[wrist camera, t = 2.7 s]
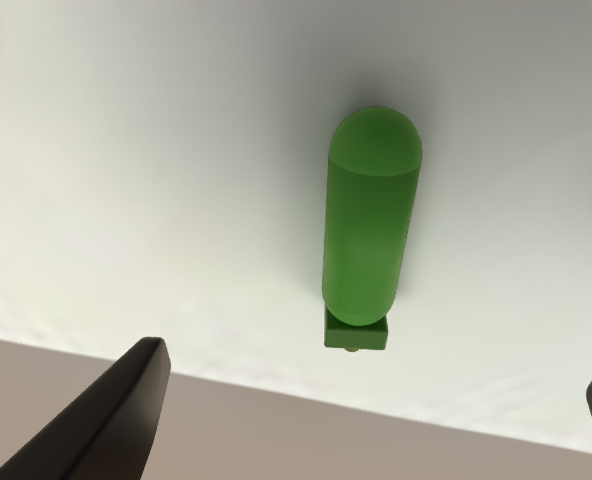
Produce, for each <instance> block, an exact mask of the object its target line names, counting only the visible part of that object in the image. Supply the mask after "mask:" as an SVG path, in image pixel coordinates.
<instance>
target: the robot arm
mask: <svg viewBox="0 0 592 480" xmlns="http://www.w3.org/2000/svg"><path fill="white" fill-rule="evenodd" d="M170 369H171V362H170V358H169V354H168V351H167V347H166V344H165V341H164V339H162V338H160V337H144V338H142V339H140V340H139V341H138V342H137V343H136V344H135V345H134V346H133V347H132V348H131V349H129V350H128V351H127V352H126V353H125V354H124V355H123V356H122V357H121V358H120V359H119V360H117V361H116V362H115V363H114V364H113V365H112V366H111V367H110V368H109V369H108V370H107V371H105V372H104V373H103V374H102V375H101V376H100V377H99V378H98V379H97V380H96V381H94V382H93V383H92V384H91V385H90V386H89V387H88V388H87V389H86V390H85V391H84V392H82V393H81V394H80V395H79V396H78V397H77V398H76V399H75V400H74V401H73V402H71V403H70V404H69V406H67V407H66V408H65V409H64V410H63V411H62V412H61V413H59V414H58V415H57V416H56V417H55V418H54V419H53V420H52V421H51V422H50V423H49V424H47V425H46V426H45V427H44V428H43V429H42V430H41V431H40V432H39V433H38V434H36V436H34V437H33V438H32V439H31V440H30V441H29V442H28V443H27V444H26V445H24V446H23V447H22V448H21V449H20V450H19V451H18V452H17V453H16V454H15V455H14V456H12V457H11V458H10V459H9V460H8V461H7V462H6V463H5V464H4V465H3V466H1V467H0V480H140V479H141V476H142V473H143V470H144V468H145V465H146V462H147V459H148V456H149V454H150V450H151V447H152V444H153V441H154V437H155V433H156V430H157V425H158V421H159V417H160V413H161V409H162V404H163V400H164V396H165V391H166V387H167V383H168V379H169V375H170ZM586 398H587V402H588V406H589V409H590V412H591V416H592V382H591V383H590V384H589V386H588V388H587V391H586Z"/></svg>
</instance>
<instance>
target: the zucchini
mask: <svg viewBox="0 0 592 480" xmlns="http://www.w3.org/2000/svg"><path fill="white" fill-rule="evenodd" d="M421 161H422V145H421V139H420V136H419V134H418V131H417V130H416V128H415V127H414V125H413V124H412V122H411V121H410V120H409V119H407V118H406V117H405V116H404V115H403V114H401V113H399V112H397V111H395V110H393V109H390V108H385V107H369V108H365V109H362V110H359V111H357V112H355V113H353V114H352V115H350V116H349V117H347V118H346V119H345V120H344V121H343V122H342V123H341V124H340V125H339V127H338V128H337V130H336V131H335V133H334V135H333V138H332V140H331V143H330V149H329V159H328V178H327V198H326V218H325V237H324V257H323V276H322V294H323V299H324V301H325V332H324V345H325V347H331V348H345V350H347V351H349V352H355V351H357V350H358V349H371V350H384V349H385V347H386V341H387V336H388V326H387V319H386V314H387V312H388V311H389V310H390V308H391V306H392V304H393V301H394V298H395V293H396V288H397V283H398V278H399V273H400V268H401V263H402V258H403V253H404V248H405V243H406V238H407V232H408V227H409V222H410V217H411V212H412V207H413V202H414V197H415V192H416V187H417V182H418V177H419V171H420V166H421Z"/></svg>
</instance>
